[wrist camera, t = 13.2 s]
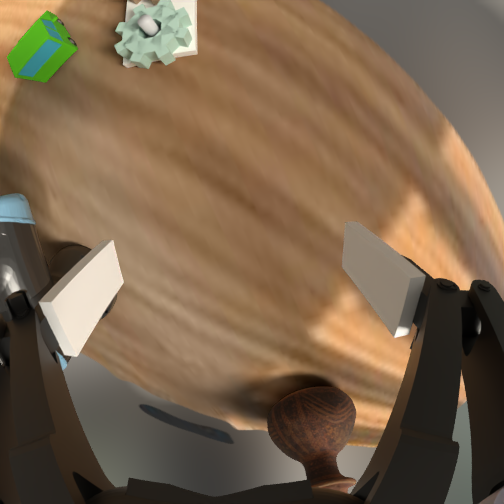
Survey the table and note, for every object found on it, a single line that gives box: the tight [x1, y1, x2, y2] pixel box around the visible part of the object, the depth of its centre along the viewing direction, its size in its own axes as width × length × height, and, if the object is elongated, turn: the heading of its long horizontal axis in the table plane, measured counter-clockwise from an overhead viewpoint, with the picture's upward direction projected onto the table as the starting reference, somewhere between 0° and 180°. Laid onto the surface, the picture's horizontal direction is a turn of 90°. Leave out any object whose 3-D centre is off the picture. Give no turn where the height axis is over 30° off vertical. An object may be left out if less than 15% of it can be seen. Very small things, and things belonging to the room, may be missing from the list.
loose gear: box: [114, 0, 192, 69], centre depth 26 cm, size 10×10×4 cm
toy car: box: [7, 11, 78, 83], centre depth 21 cm, size 10×13×10 cm
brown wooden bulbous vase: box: [267, 387, 356, 493], centre depth 47 cm, size 22×22×30 cm
